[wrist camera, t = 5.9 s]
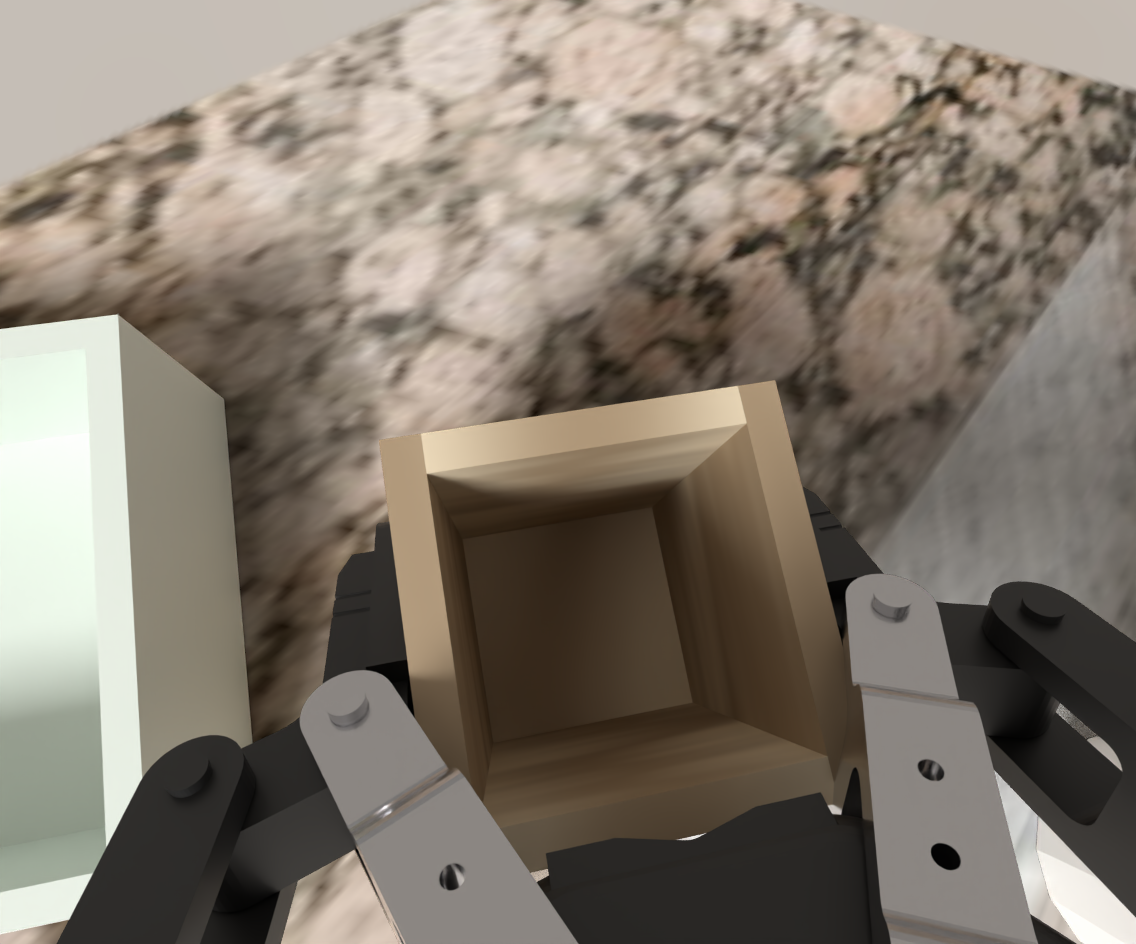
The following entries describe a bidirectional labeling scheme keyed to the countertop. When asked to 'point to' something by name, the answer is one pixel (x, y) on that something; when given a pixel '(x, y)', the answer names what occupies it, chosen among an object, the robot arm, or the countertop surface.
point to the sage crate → (105, 594)
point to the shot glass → (1083, 886)
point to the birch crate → (618, 616)
